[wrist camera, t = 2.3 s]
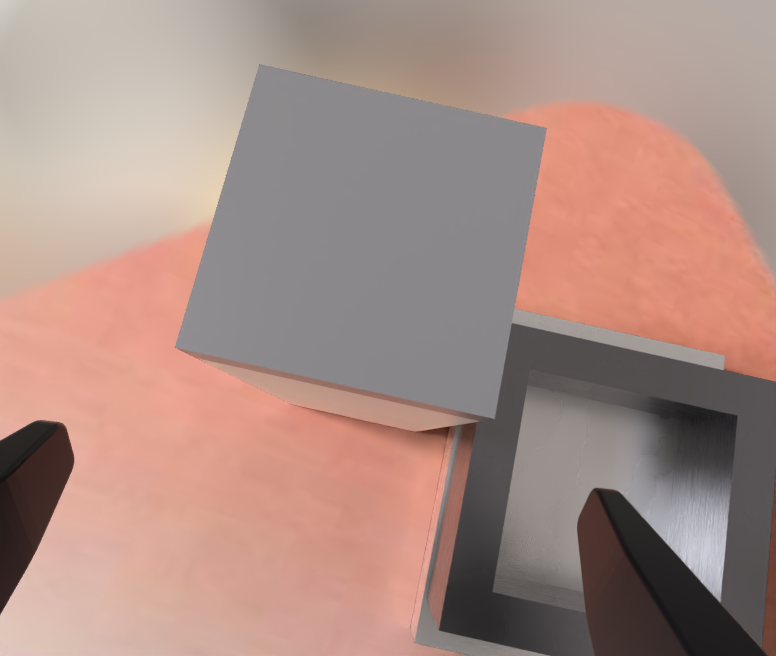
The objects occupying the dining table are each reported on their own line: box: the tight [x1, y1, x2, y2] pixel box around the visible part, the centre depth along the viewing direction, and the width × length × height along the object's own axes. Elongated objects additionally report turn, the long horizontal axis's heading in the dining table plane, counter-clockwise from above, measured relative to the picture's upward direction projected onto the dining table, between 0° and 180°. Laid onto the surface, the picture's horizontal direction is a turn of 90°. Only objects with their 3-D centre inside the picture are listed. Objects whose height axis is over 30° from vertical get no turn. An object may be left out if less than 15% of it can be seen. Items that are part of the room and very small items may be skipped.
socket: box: [410, 309, 776, 656], centre depth 18 cm, size 11×9×4 cm
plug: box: [175, 65, 547, 432], centre depth 14 cm, size 4×4×12 cm
